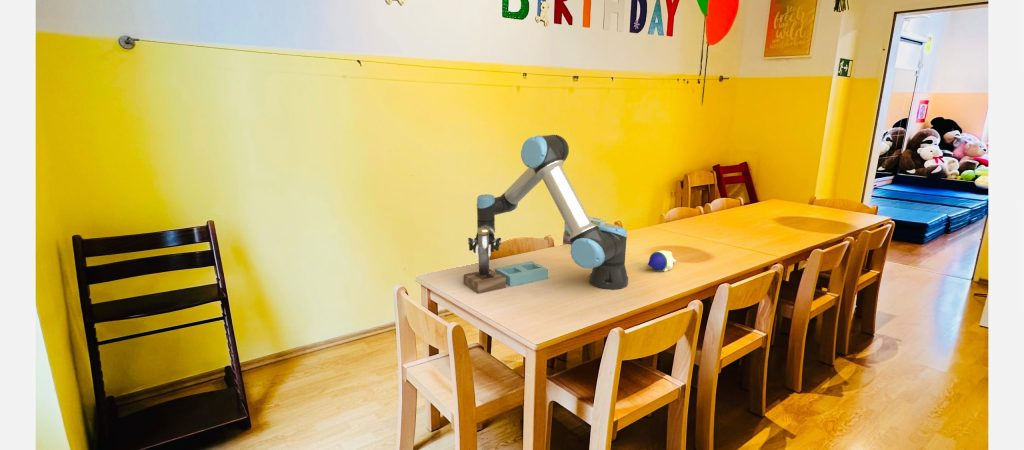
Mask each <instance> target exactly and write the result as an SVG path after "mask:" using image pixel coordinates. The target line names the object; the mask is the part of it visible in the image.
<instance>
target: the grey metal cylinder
mask: <svg viewBox="0 0 1024 450" xmlns="http://www.w3.org/2000/svg"><path fill="white" fill-rule="evenodd" d="M488 248H489V228H487V227H480V228H478V252H479V253H478V271H479V275H483V276H485V275H489V269H490V256H488Z"/></svg>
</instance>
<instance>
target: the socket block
mask: <svg viewBox="0 0 1024 450" xmlns="http://www.w3.org/2000/svg"><path fill="white" fill-rule="evenodd" d="M463 285H465V286H466V287H467V288H469V289H470V290H472V291H474V292H475V293H476V294H478V295H479V294H483V293H487V292H488V293H489V292H492V291H493V292H494V291H497V290H502V289H507V285H506V278H505V277H503V276H502V275H500V274H498V273H496V272H495V270H492V269H490V268H489V275H485V276H483V275H479V270H478V271H473V272H468V273H463Z"/></svg>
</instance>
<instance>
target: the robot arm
mask: <svg viewBox="0 0 1024 450" xmlns="http://www.w3.org/2000/svg"><path fill="white" fill-rule="evenodd" d="M569 149H570V146H569V143H568V142H567V140H566V139H565V138H564V137H563V136H561V135H558V134H549V135H535V136H530V137H528V138H527V139H526V140H525V141H524V142H523V144H522V147H521V150H520V158H521V161H522V163H523V164H524V166H525V167H526V170H525V171H524V172H523V173H522V174H521V175H520V176H519V177H518V178H517V179H516V180H515V181H514V182H513V183H512V184H511V185H510V186H509V187H508V188H507V189H506V190H505V191H504V192H503V193H502V194H501V195H500V196H497V197H495V195H493V194H479V195H478V196H477V198H476V213H477V216H476V218H477V219H476V221H477V222H476V225H477V226H476V227H477V230H476V231H477V232H476V235H475V237H474V238H471V237H468V238H467V241H468V242H467V243H468V245H469V246H468V248H469V249H468V250H469V251H473V253H474V254H475V257H479V255H478V253H479V252H478V228H480V227H487V228H489V248H488V256H489V257H491V253H494V252H495V251H499V249H500V245H502V238H501V237H498V238H495V233H496V225H495V221H496V219H495V216H497V215H501V214H505V213H509V212H510V213H511V212H512V211H515V210H516V209H517V208H518V204H519V203H520V201H521V200H523V198H524V197H526V196H527V195H528V194H529V193H530V192H531V190H533V189H534V188H535V187H536V186H537V185H538V184H539V183H541V181H543V182H544V184H545V186H546V188H547V190H548V192H549V195H550V196H551V198H552V200H553V202H554V203H555V206H556V207H557V209H558V212H559V214H560V215H561V217H562V219H563V221H564V224H565V223H566V225H567V227H568V229H569V231H570V233H571V235H570V239H569V240H570V242H571V244H570V245H571V246H570V250H569V251H570V255H571V259H572V260H573V262H574V263H575V264H576V265H577V266H579V267H580V268H583V269H589V270H590V269H592V270H591V273H590V274H589V283H590V285H592V286H594V287H597V288H600V289H604V290H605V289H606V290H619V289H623V288H625V287H626V288H627V286H628V284H629V277H628V275H627V274H628V273H627V270H626V265H625V264H626V250H627V239H628V235H627V234H628V233H627V230H626V228H624V227H623V226H619V225H612V224H605V225H596V224H593V223H591V221H590V219H589V217H590V216H588V213H587V212H586V210H585V208H584V206H583V204H582V203H581V202H582V201H581V200H580V198H579V197H578V195H577V193H576V191H575V189H574V187H573V185H572V183H571V181H570V180H569V178H568V175H567V173H566V172H565V170H564V168H563V166H564V162H565V161H566V160H567V159H568V156H569V154H570V153H569V152H570V150H569Z"/></svg>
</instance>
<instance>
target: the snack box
mask: <svg viewBox="0 0 1024 450" xmlns="http://www.w3.org/2000/svg"><path fill="white" fill-rule="evenodd" d="M588 217H589V219H590V221H591V223H593V224H596V225H606V221H607V220H606V219H602V218H597V217H594V216H588ZM570 235H571V233H570V231H569V229H568V227H567V225H566V223H565V222H564V234H563V236H564V237H563V239H564V242H563V243H565V244H568V245H572V244H571V242H570V240H569V239H570Z"/></svg>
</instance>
